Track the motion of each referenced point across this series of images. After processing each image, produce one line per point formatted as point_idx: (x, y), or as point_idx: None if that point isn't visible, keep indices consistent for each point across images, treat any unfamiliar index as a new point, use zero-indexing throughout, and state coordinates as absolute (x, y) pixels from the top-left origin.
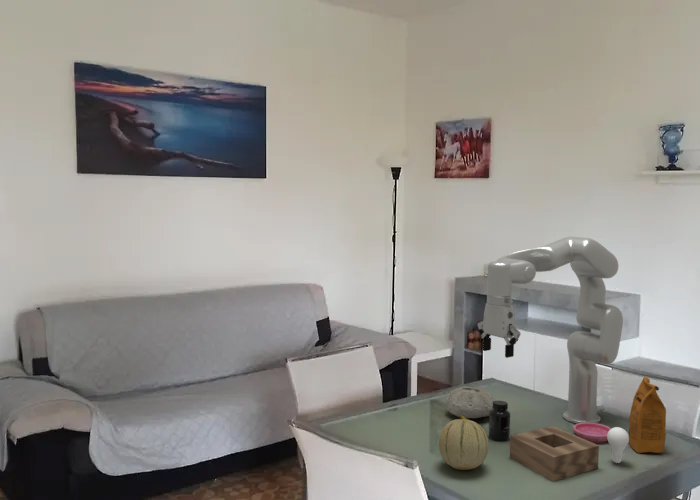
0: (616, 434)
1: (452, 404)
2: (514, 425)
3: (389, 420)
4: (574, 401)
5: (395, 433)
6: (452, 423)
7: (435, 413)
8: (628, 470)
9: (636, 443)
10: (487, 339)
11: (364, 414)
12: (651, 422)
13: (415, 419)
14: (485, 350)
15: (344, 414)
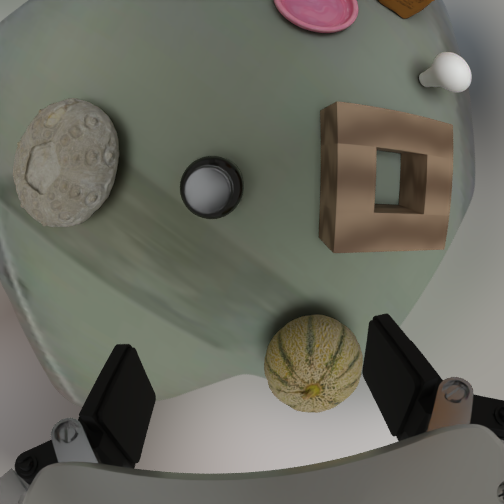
0: (467, 86)
1: (66, 226)
2: (169, 96)
3: (66, 325)
4: None
5: None
6: (312, 410)
7: (48, 228)
8: (444, 94)
9: (407, 10)
10: (123, 443)
11: (41, 341)
12: None
13: (67, 284)
14: (152, 389)
15: (41, 362)
